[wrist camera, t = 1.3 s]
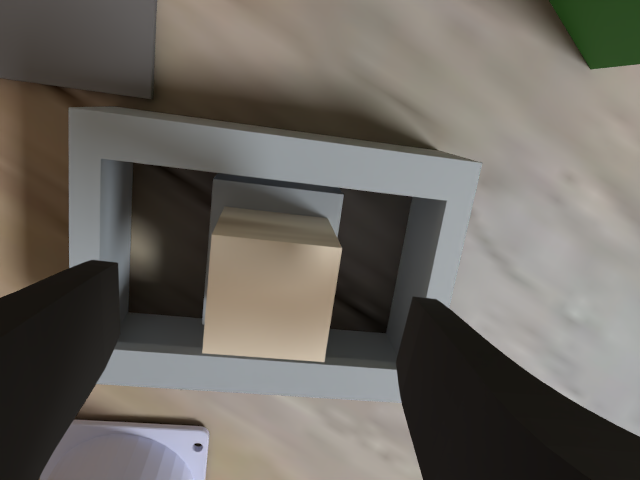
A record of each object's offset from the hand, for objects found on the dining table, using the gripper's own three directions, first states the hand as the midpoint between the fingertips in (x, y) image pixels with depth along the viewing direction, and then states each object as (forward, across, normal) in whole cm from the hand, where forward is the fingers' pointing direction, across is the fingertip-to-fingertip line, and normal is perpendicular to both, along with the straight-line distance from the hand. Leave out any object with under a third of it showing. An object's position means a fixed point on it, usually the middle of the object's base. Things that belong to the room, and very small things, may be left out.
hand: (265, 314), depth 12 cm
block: (+7, 0, +2) cm, 7 cm away
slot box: (+10, 0, +2) cm, 10 cm away
